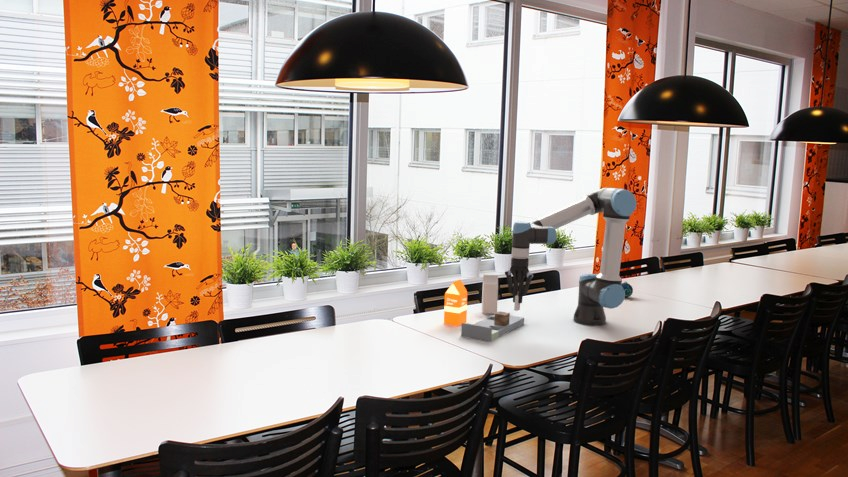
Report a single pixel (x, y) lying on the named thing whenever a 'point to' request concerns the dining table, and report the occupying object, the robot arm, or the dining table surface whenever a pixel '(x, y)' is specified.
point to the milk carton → (489, 294)
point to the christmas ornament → (627, 289)
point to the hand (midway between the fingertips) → (517, 309)
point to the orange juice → (455, 304)
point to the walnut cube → (501, 318)
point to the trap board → (489, 328)
